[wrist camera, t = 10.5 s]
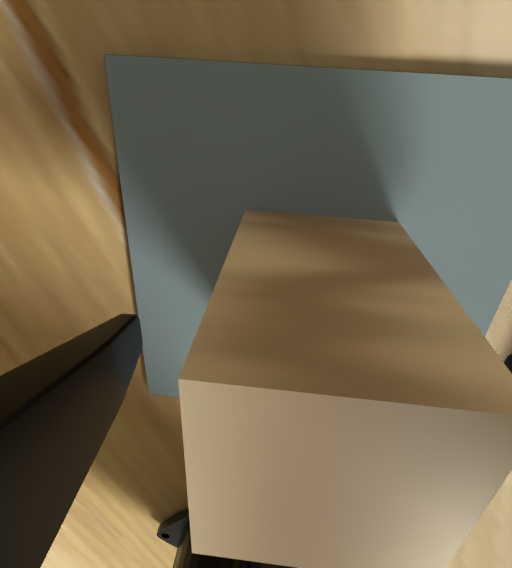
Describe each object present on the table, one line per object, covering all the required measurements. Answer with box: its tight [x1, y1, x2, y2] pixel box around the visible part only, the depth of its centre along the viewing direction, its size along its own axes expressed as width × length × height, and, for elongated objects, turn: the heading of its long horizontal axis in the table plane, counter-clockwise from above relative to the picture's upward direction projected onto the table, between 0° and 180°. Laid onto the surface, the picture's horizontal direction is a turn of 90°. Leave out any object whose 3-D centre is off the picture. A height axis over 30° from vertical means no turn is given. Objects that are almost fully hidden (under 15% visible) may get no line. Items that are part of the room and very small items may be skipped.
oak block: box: [178, 210, 512, 568], centre depth 9 cm, size 4×4×7 cm
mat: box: [104, 54, 512, 398], centre depth 12 cm, size 12×12×1 cm
